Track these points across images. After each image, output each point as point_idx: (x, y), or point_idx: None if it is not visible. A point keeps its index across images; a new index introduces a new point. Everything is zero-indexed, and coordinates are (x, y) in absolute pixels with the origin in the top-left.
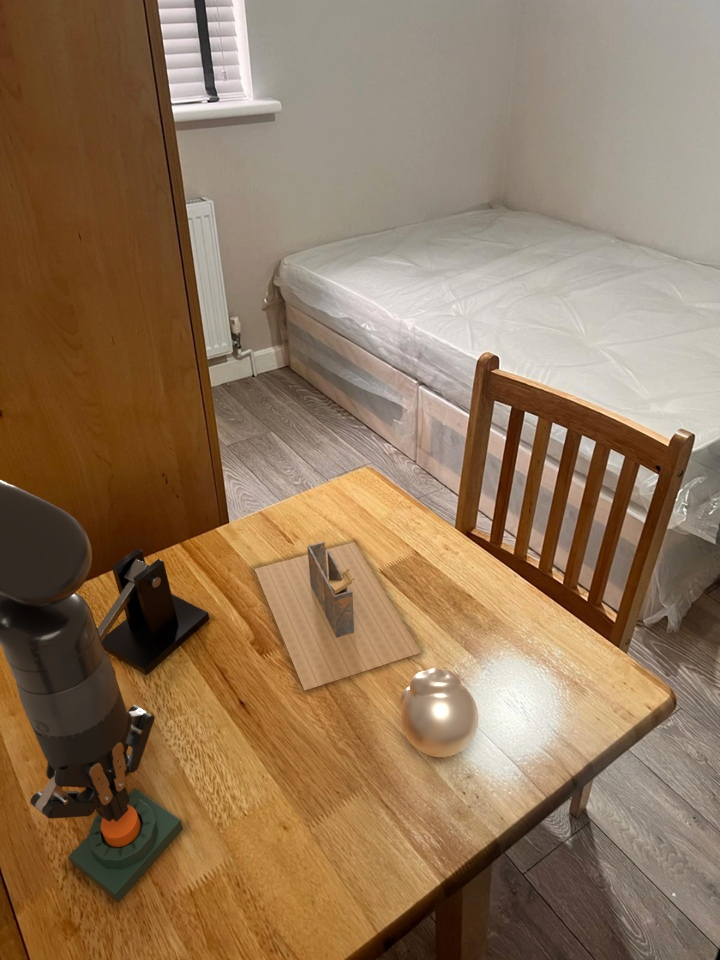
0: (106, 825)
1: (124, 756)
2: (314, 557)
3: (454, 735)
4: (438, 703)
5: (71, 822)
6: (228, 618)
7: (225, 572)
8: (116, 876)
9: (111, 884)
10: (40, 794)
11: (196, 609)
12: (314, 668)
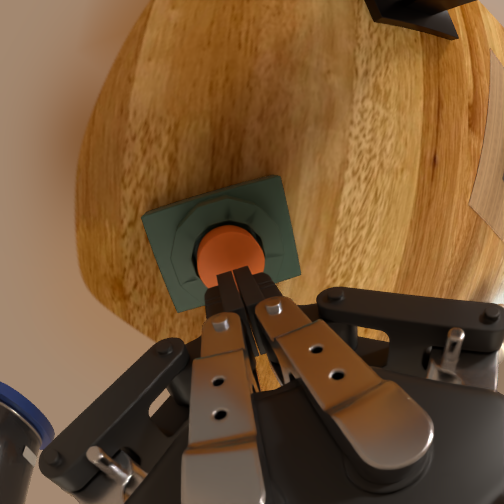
0: (209, 258)
1: (349, 332)
2: None
3: None
4: (499, 360)
5: (171, 143)
6: (463, 59)
7: (472, 22)
8: (188, 293)
9: (178, 298)
10: (69, 485)
11: (451, 23)
12: (483, 190)
